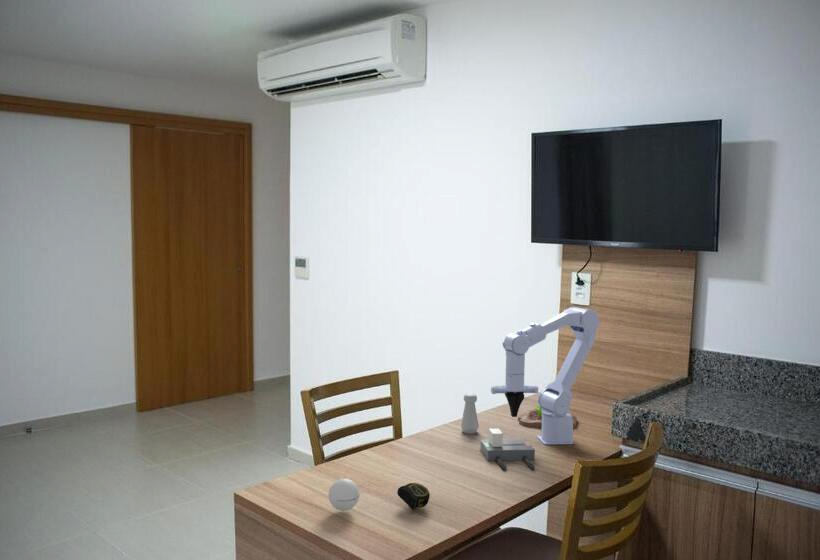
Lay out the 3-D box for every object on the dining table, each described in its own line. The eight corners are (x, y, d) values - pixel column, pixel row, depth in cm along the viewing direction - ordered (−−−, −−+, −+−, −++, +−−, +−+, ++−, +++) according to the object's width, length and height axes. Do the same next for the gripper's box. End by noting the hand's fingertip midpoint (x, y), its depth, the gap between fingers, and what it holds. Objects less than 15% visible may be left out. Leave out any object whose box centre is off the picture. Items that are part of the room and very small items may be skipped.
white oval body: (327, 516, 157) (328, 485, 156) (328, 503, 164) (328, 474, 163) (371, 515, 158) (371, 484, 157) (369, 502, 165) (370, 473, 164)
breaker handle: (498, 441, 204) (498, 428, 204) (502, 446, 199) (502, 433, 199) (488, 441, 204) (489, 428, 203) (492, 447, 199) (492, 433, 198)
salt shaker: (478, 430, 226) (479, 392, 225) (478, 436, 220) (479, 396, 219) (461, 430, 226) (461, 391, 225) (460, 435, 221) (461, 396, 220)
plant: (583, 421, 240) (584, 390, 240) (568, 435, 223) (570, 402, 222) (529, 413, 250) (530, 383, 249) (511, 426, 233) (512, 394, 232)
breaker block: (525, 448, 208) (525, 438, 208) (534, 459, 198) (534, 449, 198) (480, 449, 206) (480, 439, 206) (487, 460, 196) (487, 450, 196)
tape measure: (394, 497, 165) (397, 483, 164) (417, 493, 169) (420, 479, 168) (409, 513, 159) (413, 499, 159) (432, 508, 163) (436, 495, 162)
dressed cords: (526, 459, 198) (526, 455, 198) (535, 470, 189) (535, 465, 189) (495, 459, 197) (495, 455, 197) (502, 470, 188) (502, 466, 188)
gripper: (534, 370, 213) (533, 412, 214) (489, 370, 212) (488, 412, 213) (540, 374, 206) (539, 418, 207) (494, 375, 205) (493, 419, 206)
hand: (513, 416), depth 210 cm, fingers closed
